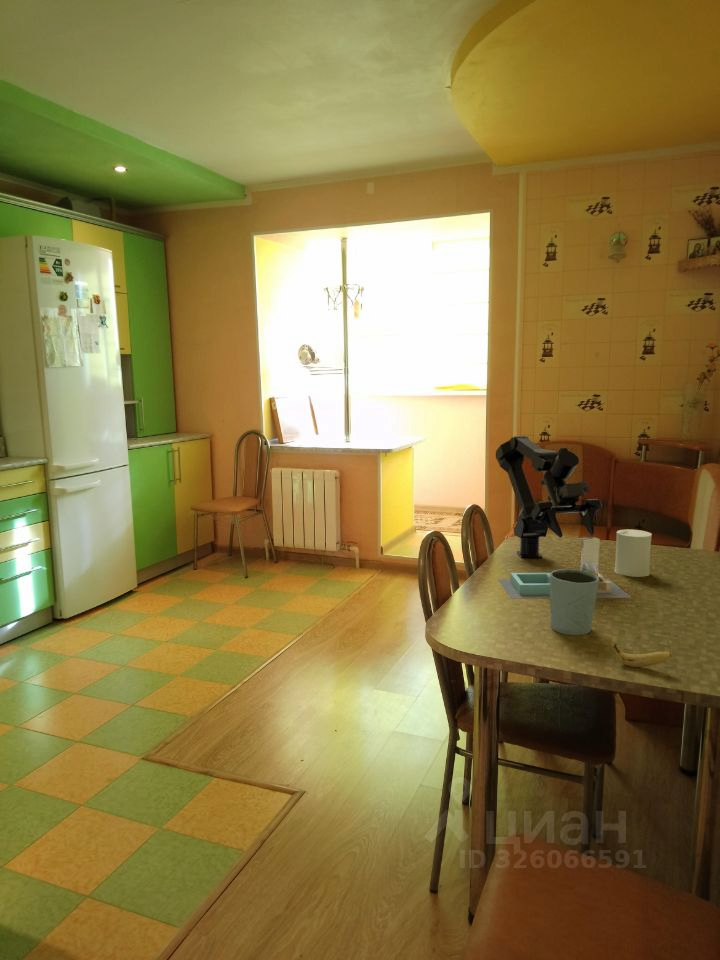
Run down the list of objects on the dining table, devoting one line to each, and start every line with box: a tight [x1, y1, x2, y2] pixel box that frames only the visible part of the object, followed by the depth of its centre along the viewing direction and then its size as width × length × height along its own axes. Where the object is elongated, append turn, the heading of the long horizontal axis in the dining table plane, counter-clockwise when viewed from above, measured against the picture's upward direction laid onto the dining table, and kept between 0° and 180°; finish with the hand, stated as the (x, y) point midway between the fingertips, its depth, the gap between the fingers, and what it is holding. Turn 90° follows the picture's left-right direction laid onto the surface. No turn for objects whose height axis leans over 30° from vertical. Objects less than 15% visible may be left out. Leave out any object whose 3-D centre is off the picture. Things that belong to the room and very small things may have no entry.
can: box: [614, 528, 653, 578], centre depth 185 cm, size 9×9×12 cm
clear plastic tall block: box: [579, 536, 601, 577], centre depth 172 cm, size 4×4×13 cm
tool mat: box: [497, 577, 632, 600], centre depth 172 cm, size 16×30×1 cm, turn 90°
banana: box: [613, 642, 672, 668], centre depth 125 cm, size 10×2×4 cm, turn 63°
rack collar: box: [509, 572, 551, 595], centre depth 172 cm, size 10×10×2 cm
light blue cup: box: [549, 568, 599, 636], centre depth 145 cm, size 10×10×12 cm
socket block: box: [597, 572, 611, 593], centre depth 172 cm, size 8×8×2 cm
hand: (577, 535), depth 177 cm, fingers open, 9 cm apart
